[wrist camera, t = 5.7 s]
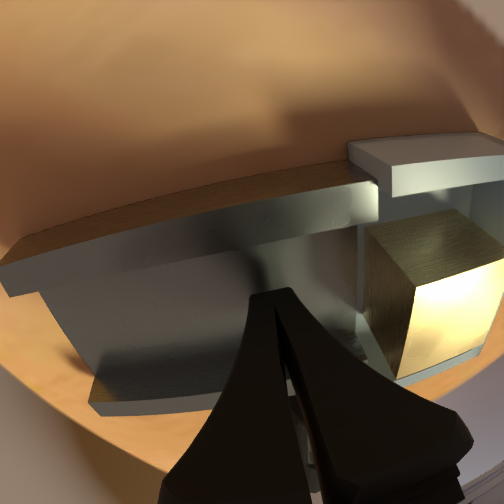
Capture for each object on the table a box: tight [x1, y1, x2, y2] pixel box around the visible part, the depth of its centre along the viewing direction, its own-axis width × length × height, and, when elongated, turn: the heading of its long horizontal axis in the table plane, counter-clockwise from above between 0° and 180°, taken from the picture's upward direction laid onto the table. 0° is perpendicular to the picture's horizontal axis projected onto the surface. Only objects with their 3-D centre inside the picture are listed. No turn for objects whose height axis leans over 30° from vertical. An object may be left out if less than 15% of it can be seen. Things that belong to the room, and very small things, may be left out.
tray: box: [347, 132, 504, 387], centre depth 10 cm, size 6×10×3 cm, turn 10°
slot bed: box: [0, 160, 378, 416], centre depth 11 cm, size 12×8×2 cm
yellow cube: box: [362, 208, 504, 379], centre depth 10 cm, size 4×4×4 cm
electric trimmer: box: [288, 395, 320, 493], centre depth 16 cm, size 4×16×3 cm, turn 6°
